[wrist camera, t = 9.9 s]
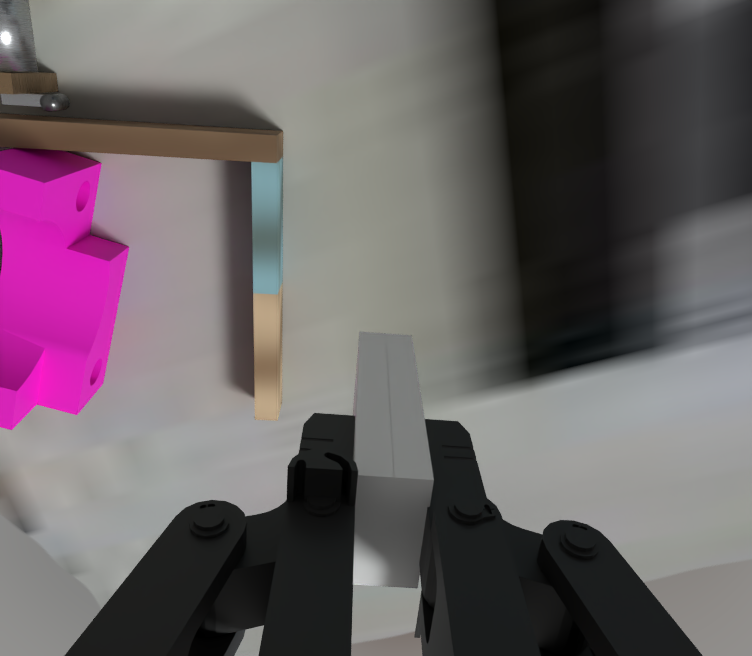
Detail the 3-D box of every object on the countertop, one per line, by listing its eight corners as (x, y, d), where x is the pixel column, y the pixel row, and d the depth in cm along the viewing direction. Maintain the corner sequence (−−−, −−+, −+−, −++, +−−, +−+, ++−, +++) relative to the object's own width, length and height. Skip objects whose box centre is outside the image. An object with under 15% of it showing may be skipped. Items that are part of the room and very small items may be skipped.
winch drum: (-4, -34, 33) (-64, -52, 29) (82, -28, 34) (37, -44, 29) (16, 101, 36) (-36, 106, 31) (96, 106, 36) (56, 111, 32)
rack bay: (-61, 109, 36) (-96, 112, 33) (283, 131, 37) (276, 135, 34) (-6, 389, 43) (-32, 411, 40) (281, 402, 44) (276, 424, 41)
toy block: (104, 382, 43) (55, 441, 37) (12, 357, 43) (-56, 412, 36) (143, 175, 38) (95, 198, 31) (39, 142, 37) (-34, 158, 30)
